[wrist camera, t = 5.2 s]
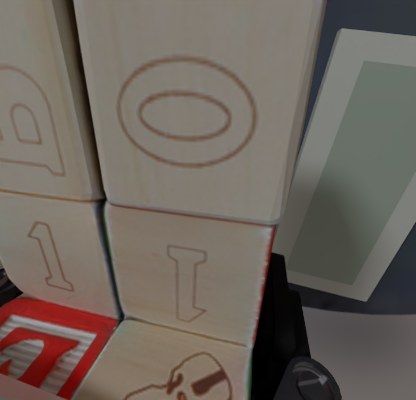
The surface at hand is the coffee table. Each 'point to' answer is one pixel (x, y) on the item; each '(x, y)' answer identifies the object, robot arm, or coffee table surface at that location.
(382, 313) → the coffee table surface
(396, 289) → the coffee table surface
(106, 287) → the stack of blocks
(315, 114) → the baseplate
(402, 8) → the coffee table surface
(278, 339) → the robot arm
